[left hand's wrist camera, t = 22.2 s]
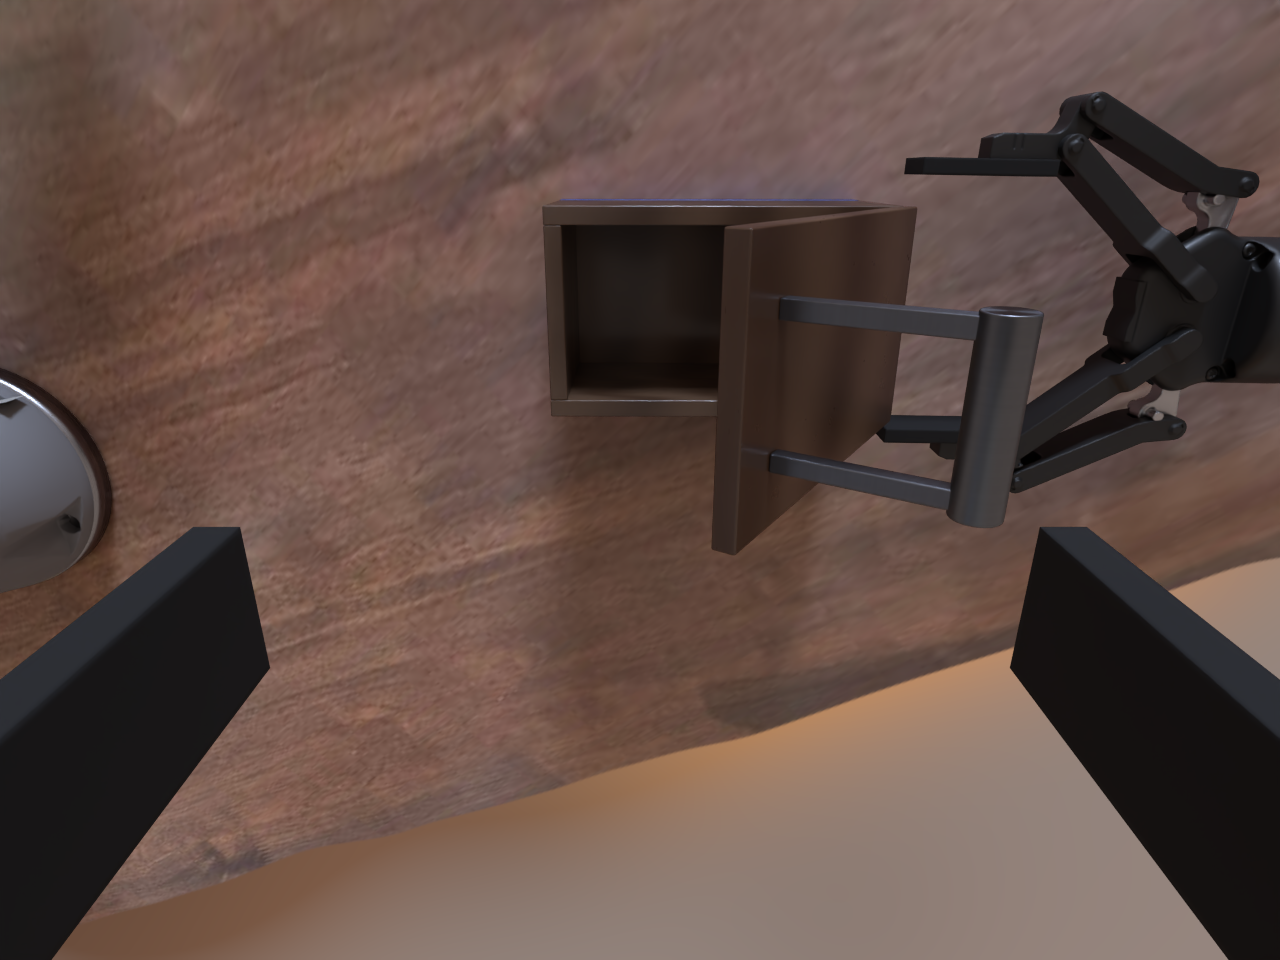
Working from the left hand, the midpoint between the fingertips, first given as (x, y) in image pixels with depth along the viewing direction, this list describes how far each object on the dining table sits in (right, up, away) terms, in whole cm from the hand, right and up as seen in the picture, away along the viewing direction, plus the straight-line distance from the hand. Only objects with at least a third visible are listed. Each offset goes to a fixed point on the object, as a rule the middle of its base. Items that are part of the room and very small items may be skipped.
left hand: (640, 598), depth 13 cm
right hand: (+13, +11, +28) cm, 33 cm away
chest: (+4, +14, +34) cm, 37 cm away
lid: (+7, +7, +18) cm, 21 cm away
